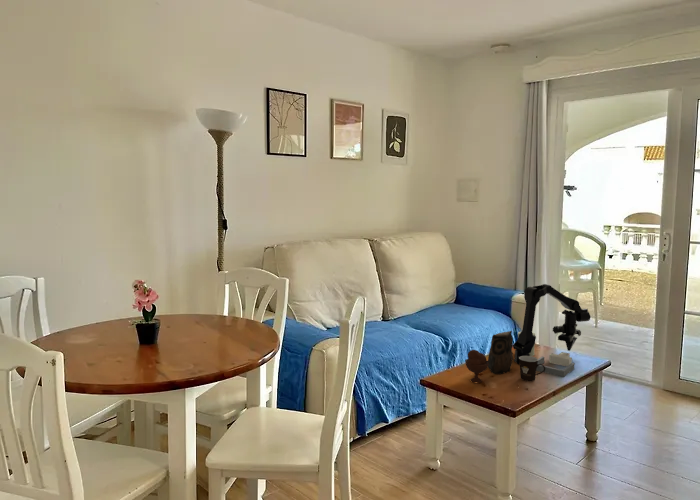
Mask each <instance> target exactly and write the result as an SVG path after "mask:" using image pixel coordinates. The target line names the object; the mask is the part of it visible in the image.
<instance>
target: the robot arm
mask: <svg viewBox="0 0 700 500" xmlns="http://www.w3.org/2000/svg"><path fill="white" fill-rule="evenodd" d="M546 295H549V296H550V297H552V298H553V299H555V300H557V301H558V302H560V304H561V306H562V307H563V308H564V310H563V311H562V312H561V315H564V323H563V324H562V325H555V326H553V328H552V332H553V333H554V334H559V333H561V334H560V335H558V336H557V340H558V341H561V342H562V341H563V342H564V343H565V345H566V349H567V351H569V352H570V351H571V350H572V349H573V346H574V345H575V343H576V341H577V339H578V337H580V336H581V335H582V331H581V330H580V329H577V327H578V323H580V322H581V323H583V322H590V320H591V314H590V312H589V310H588V308H582V307H581V306H580V302H579V301H578V300H576V299H573V298H571V297H568V296H566V295H564V294H563V293H561V292H560V291H559V290H558V289H555V288H554V287H552V285H550V284H546V283H544V284H540V285H534V286H528V287H526V288H525V289H524V294H523V297H524V301H525V311H524V317H523V323H522V330H521V331H522V332H521V331H520V332H521V333H520V334H519V337H518V336H517V340H516V341H515V343H514V342H513V346H512V349H514V351H515V352H514V358H513V361H514V362H515V363H516V364H517V365H520V364H519V357H520V356H530V354H529V353H531V350H532V348H533V346H534V344H535V345H536V339H537V337H536V335H535V336H534V335H533V333H534V332H533V328H534V321H535V316H536V309H537V308H536V307H537V305H538V303H539V302H540V300H541V298H542V297H544V296H546ZM577 322H578V323H577ZM575 335H577V336H578V337H576V336H575ZM522 347H523V348H522Z"/></svg>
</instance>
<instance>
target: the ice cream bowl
mask: <svg viewBox="0 0 700 500" xmlns="http://www.w3.org/2000/svg"><path fill="white" fill-rule="evenodd" d="M464 362H465V367H466V368H467V369H468V370H469V371H470V372H472V373H474V377H472V378H470V380H471V381H472V382H471V381H470V382H471V383H473V382H481V383H482V382H483V380H482V379H481V378H480V377H479V374H481V373H483V372H485V371H486V370H487V369H489V368H488V365H489V363H488V358H487V357H486V356H485V354H484V353H482V352H479V350H476V349H471V350H470V351H468V353H467V359H464Z"/></svg>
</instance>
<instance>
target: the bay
mask: <svg viewBox="0 0 700 500" xmlns="http://www.w3.org/2000/svg"><path fill="white" fill-rule="evenodd" d="M537 359H538V364H543V365H544V363H545V356H540V357H539V358H537ZM575 365H576V364H575V363H574V362H572V363H571V364H570V365H568V366H565V368H563V369H560V368H555V367H551V366H547V365H544V366H545V371H544V372H542V371H543V370H544V367H543V366H542V365H539V366H538V367H537V369H536V372H539V373H540V372H542V373H546V374H549V375H552V376H553V375H554V376H557V377H561V378H565V377H566V376H567V375H568V374H570V373H572V371H574V370H575Z"/></svg>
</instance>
